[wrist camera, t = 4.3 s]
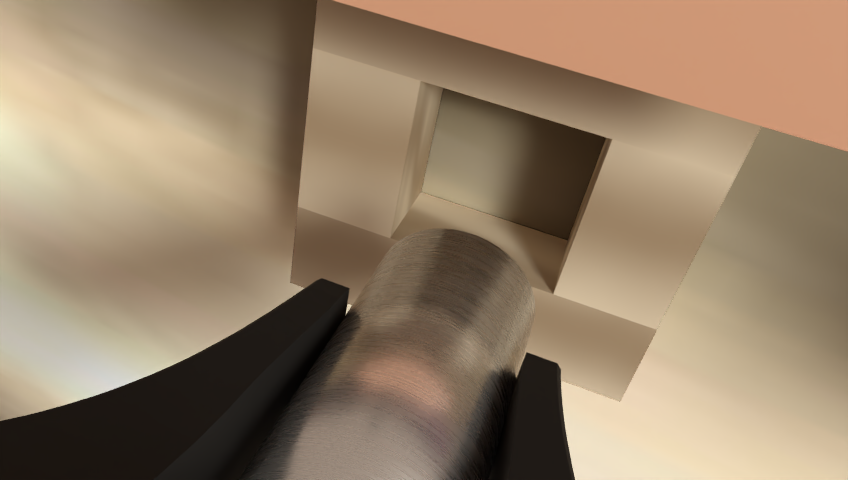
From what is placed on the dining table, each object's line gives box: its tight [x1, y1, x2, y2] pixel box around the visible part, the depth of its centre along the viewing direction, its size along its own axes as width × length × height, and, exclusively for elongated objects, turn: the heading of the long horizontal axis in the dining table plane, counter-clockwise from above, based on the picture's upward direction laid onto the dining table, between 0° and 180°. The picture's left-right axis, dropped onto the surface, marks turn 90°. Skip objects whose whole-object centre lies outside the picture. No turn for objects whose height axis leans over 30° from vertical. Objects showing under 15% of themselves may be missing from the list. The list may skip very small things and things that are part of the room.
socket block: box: [290, 0, 762, 402], centre depth 20 cm, size 11×11×3 cm
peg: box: [238, 229, 535, 480], centre depth 12 cm, size 4×4×8 cm
